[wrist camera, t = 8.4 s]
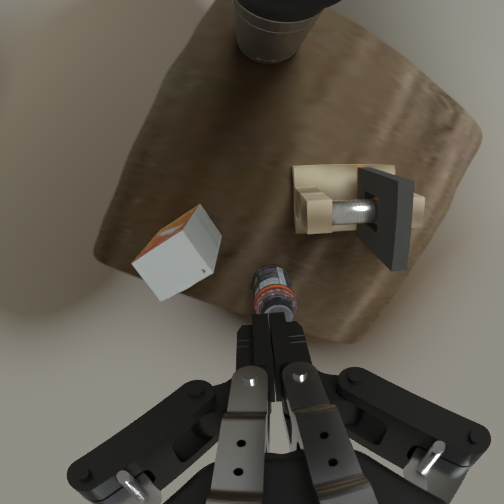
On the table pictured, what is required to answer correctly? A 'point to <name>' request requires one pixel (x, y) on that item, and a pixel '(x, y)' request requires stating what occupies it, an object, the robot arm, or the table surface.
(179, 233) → the small box
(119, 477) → the robot arm
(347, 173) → the pipe stand
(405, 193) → the dark grey flat block
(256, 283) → the supplement bottle
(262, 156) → the table surface
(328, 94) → the table surface
